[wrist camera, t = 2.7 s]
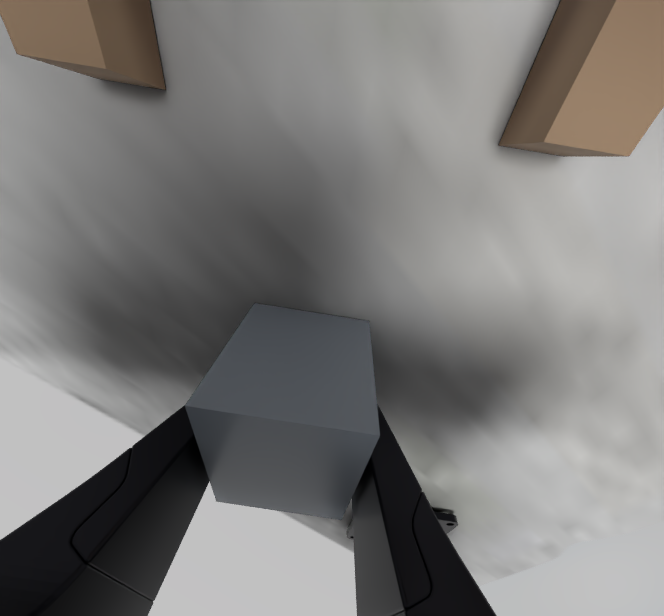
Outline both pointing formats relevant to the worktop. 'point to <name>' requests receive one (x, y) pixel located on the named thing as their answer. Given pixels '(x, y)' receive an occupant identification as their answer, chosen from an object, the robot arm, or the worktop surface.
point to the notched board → (529, 113)
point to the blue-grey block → (288, 412)
